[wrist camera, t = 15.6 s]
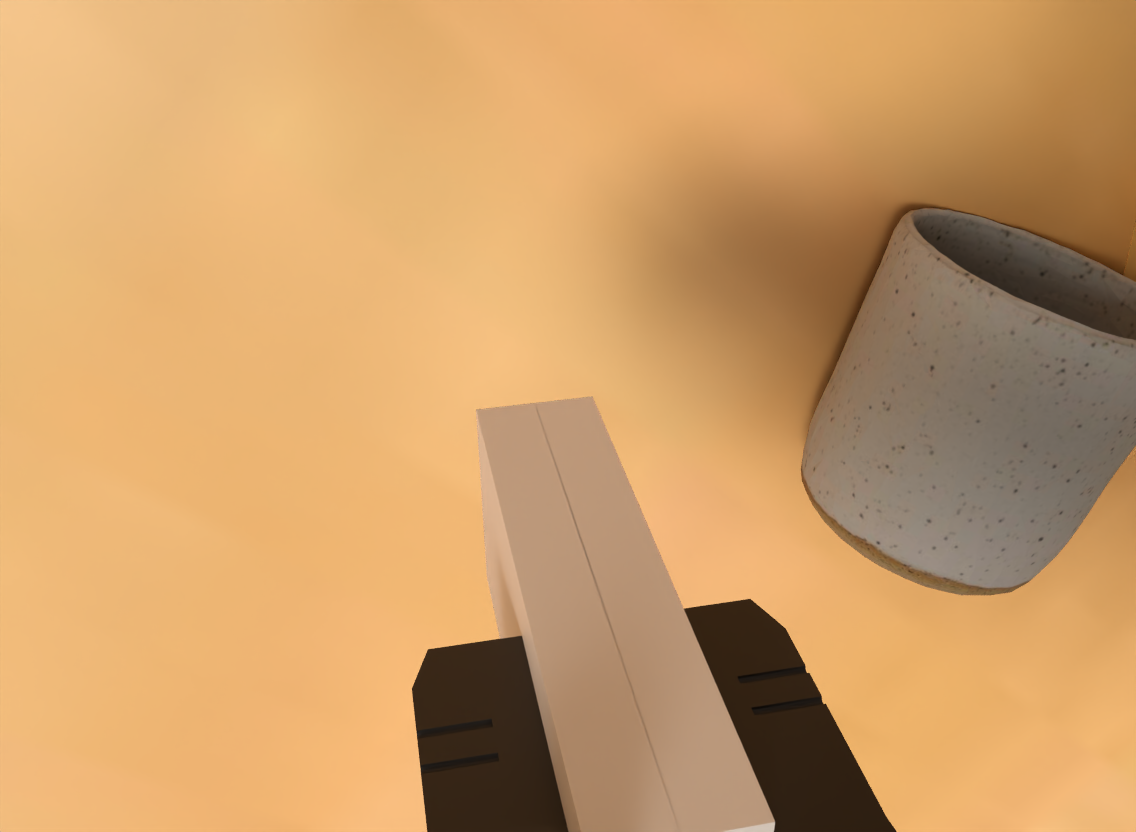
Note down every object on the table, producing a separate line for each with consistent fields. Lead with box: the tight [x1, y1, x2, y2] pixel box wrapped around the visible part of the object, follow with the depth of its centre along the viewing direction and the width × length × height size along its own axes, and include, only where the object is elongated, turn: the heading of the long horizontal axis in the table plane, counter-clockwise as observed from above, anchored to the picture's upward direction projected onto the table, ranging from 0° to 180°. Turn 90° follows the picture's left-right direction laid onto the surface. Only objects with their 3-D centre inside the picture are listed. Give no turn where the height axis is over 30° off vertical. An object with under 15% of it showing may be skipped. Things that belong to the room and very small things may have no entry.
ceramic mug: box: [801, 208, 1136, 595], centre depth 29 cm, size 11×8×8 cm
